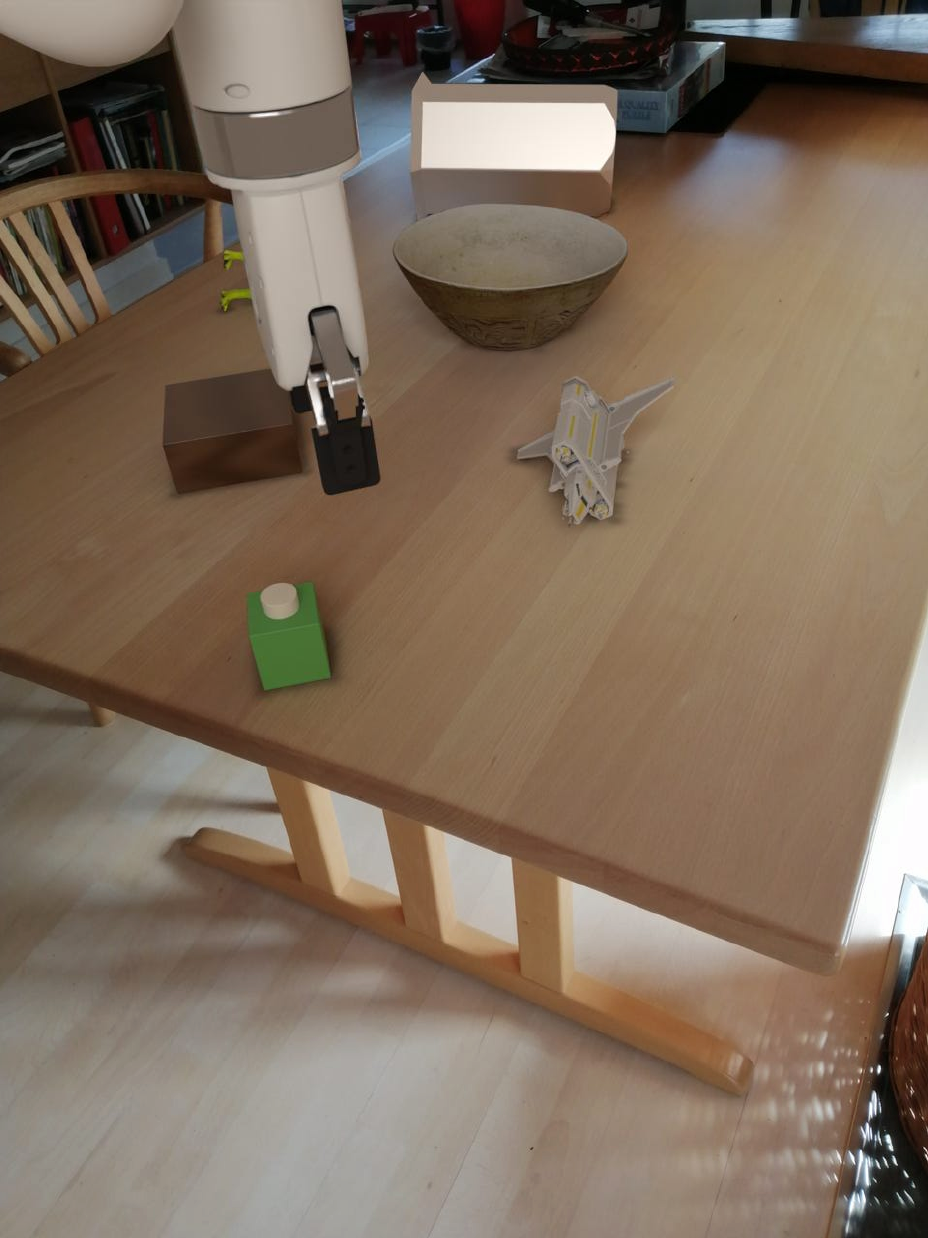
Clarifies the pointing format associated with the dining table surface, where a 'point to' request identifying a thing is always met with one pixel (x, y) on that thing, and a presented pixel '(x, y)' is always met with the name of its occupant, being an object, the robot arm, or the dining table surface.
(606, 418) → the toy spacecraft
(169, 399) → the walnut block
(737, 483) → the dining table surface
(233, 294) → the dinosaur figurine
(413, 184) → the white boxy piece
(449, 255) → the bowl
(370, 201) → the dining table surface
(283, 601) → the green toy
